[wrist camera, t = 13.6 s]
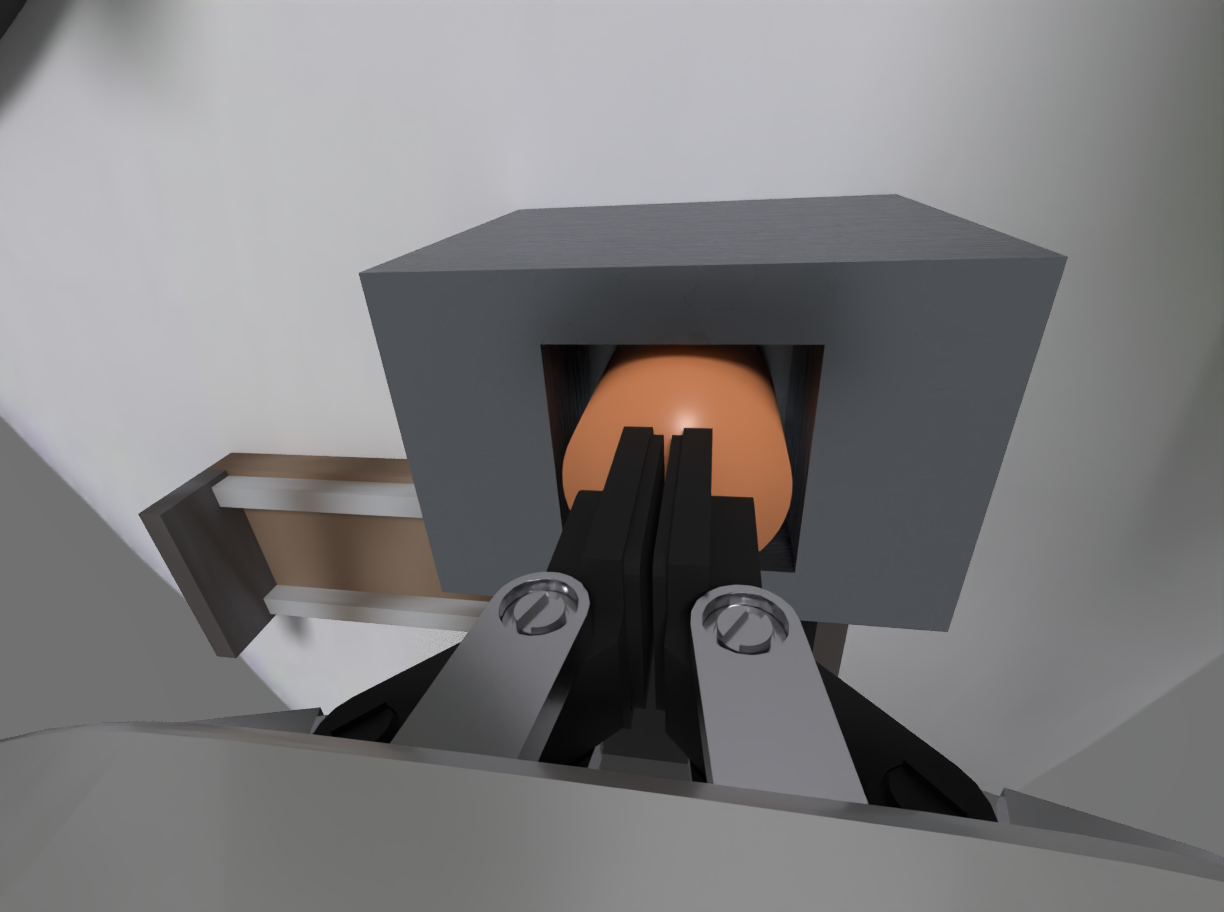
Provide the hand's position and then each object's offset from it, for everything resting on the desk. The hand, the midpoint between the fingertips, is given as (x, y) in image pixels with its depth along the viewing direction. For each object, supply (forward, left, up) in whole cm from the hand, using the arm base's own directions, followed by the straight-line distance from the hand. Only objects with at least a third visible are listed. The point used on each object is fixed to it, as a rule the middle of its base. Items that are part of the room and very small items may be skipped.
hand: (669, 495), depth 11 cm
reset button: (0, 0, -4) cm, 4 cm away
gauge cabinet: (0, 0, -11) cm, 11 cm away
